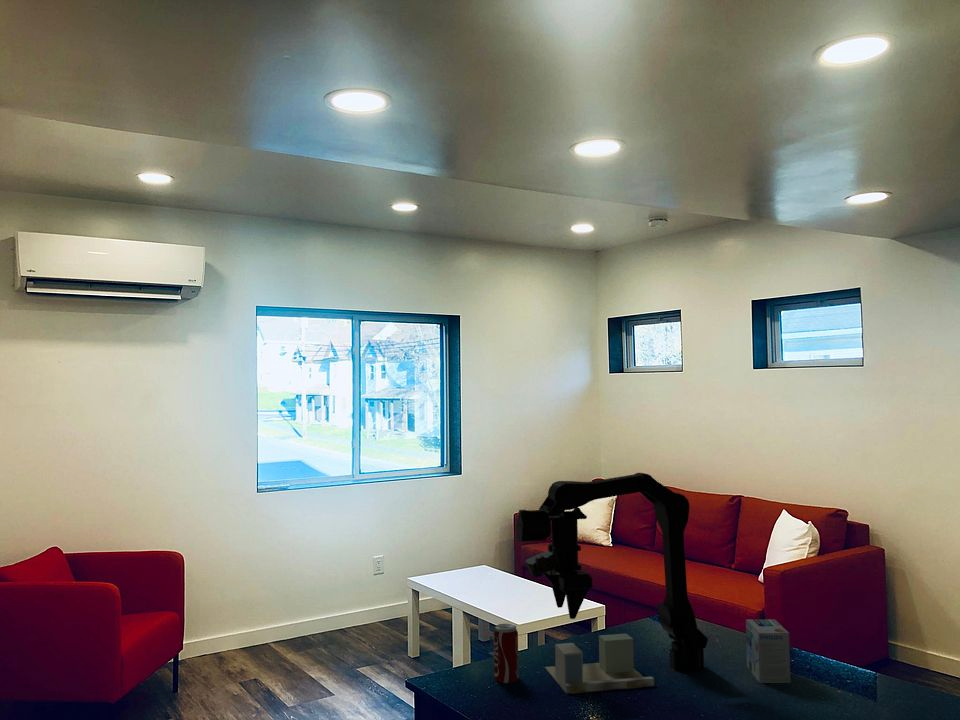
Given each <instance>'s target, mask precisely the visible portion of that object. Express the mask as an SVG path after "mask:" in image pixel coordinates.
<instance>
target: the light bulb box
mask: <svg viewBox="0 0 960 720" xmlns="http://www.w3.org/2000/svg"><path fill="white" fill-rule="evenodd" d="M745 631H746V633H745V634H746V637H745V638H746V639H745V640H746V667H747V668H748V671H750V673H751V674H752V675H753V676H755V677H754V678H755V680H756V681H757V680H758V681H759V682H761V683H762V684H763V683H791V656H790V632H789V631H787V630H786V629H785V628H784V626H782V625H781V624H780V623H779V622H778V621H777V620H776V619H771V618H770V619H745ZM758 681H757V682H758ZM759 682H758V683H759ZM761 683H760V684H761Z"/></svg>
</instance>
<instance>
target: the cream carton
mask: <svg viewBox="0 0 960 720" xmlns="http://www.w3.org/2000/svg"><path fill="white" fill-rule="evenodd" d="M554 646H555V647H554V648H555V649H554V651H555V652H554V653H555V654H554V655H555V666H556V678H557V679H558V681H559V682H560V683H561V684H562V686H563V687H564V688H565V684H568V683H580V682H583V664H584V663H583V662H584V660H583V659H584V656H583V655H584V653H583V651H582V650H581V649H580V648H579V647H578V646H577V645H575V643H574V642H568V643H555V644H554Z"/></svg>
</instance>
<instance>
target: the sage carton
mask: <svg viewBox="0 0 960 720" xmlns="http://www.w3.org/2000/svg"><path fill="white" fill-rule="evenodd" d="M634 648H635V647H634V638H633V637H632V636H630V635H629V634H627V633H616V634H613V633H612V634H603V635H602V634H601V635H598V656H599V657H598V660H599V661H598V663H599V668H600V669H602V670H603V671H604V672H605V673H606V674H608V673H620V672H632V671H634V669H635V661H634V660H635V658H634V657H635V656H634V653H635V652H634V650H635V649H634Z"/></svg>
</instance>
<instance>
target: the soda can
mask: <svg viewBox="0 0 960 720" xmlns="http://www.w3.org/2000/svg"><path fill="white" fill-rule="evenodd" d="M518 632H519V631H518V630H517V626H516V625H515V624H513V623H499V624H496V625H495V629H494V631H493V670H494V671H493V675H494V676H493V680H494V681H496V682H498V683H502V684H510V683H512V684H513V683H516V682H517V681H518V680H519V633H518Z"/></svg>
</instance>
